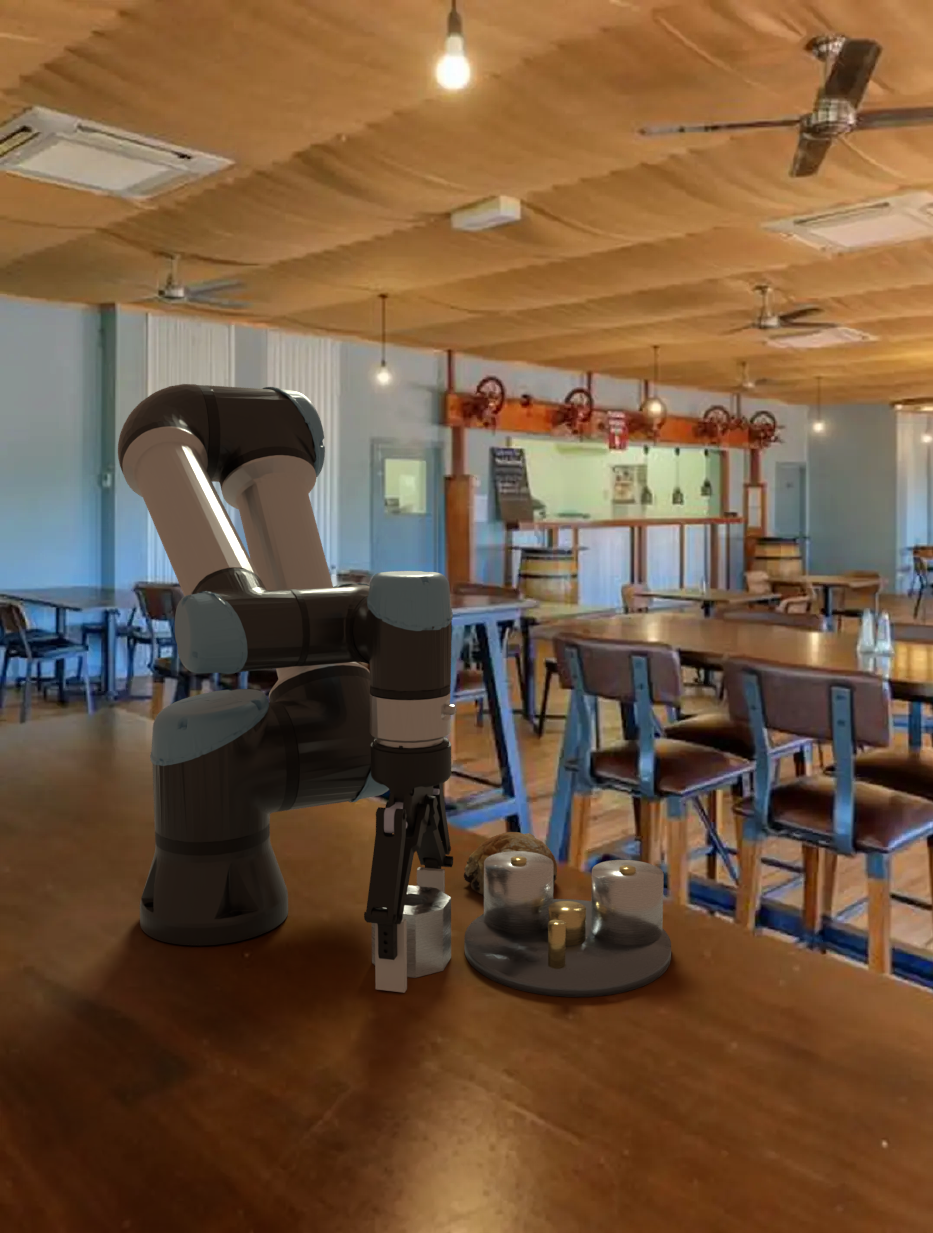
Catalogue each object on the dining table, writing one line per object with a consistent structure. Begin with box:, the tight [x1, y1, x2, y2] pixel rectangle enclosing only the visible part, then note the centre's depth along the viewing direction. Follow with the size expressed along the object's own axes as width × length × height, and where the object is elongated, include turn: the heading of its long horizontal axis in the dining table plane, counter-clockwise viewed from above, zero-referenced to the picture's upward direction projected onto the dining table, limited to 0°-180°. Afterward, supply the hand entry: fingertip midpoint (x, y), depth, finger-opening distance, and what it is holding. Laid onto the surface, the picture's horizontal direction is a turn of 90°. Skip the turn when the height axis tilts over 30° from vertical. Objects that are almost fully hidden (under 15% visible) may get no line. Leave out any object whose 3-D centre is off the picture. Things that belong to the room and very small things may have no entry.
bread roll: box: [463, 831, 558, 896], centre depth 122 cm, size 10×10×8 cm
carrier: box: [464, 851, 672, 998], centre depth 105 cm, size 20×20×8 cm
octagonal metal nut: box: [371, 884, 452, 979], centre depth 103 cm, size 7×7×6 cm
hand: (412, 958), depth 103 cm, fingers open, 12 cm apart
